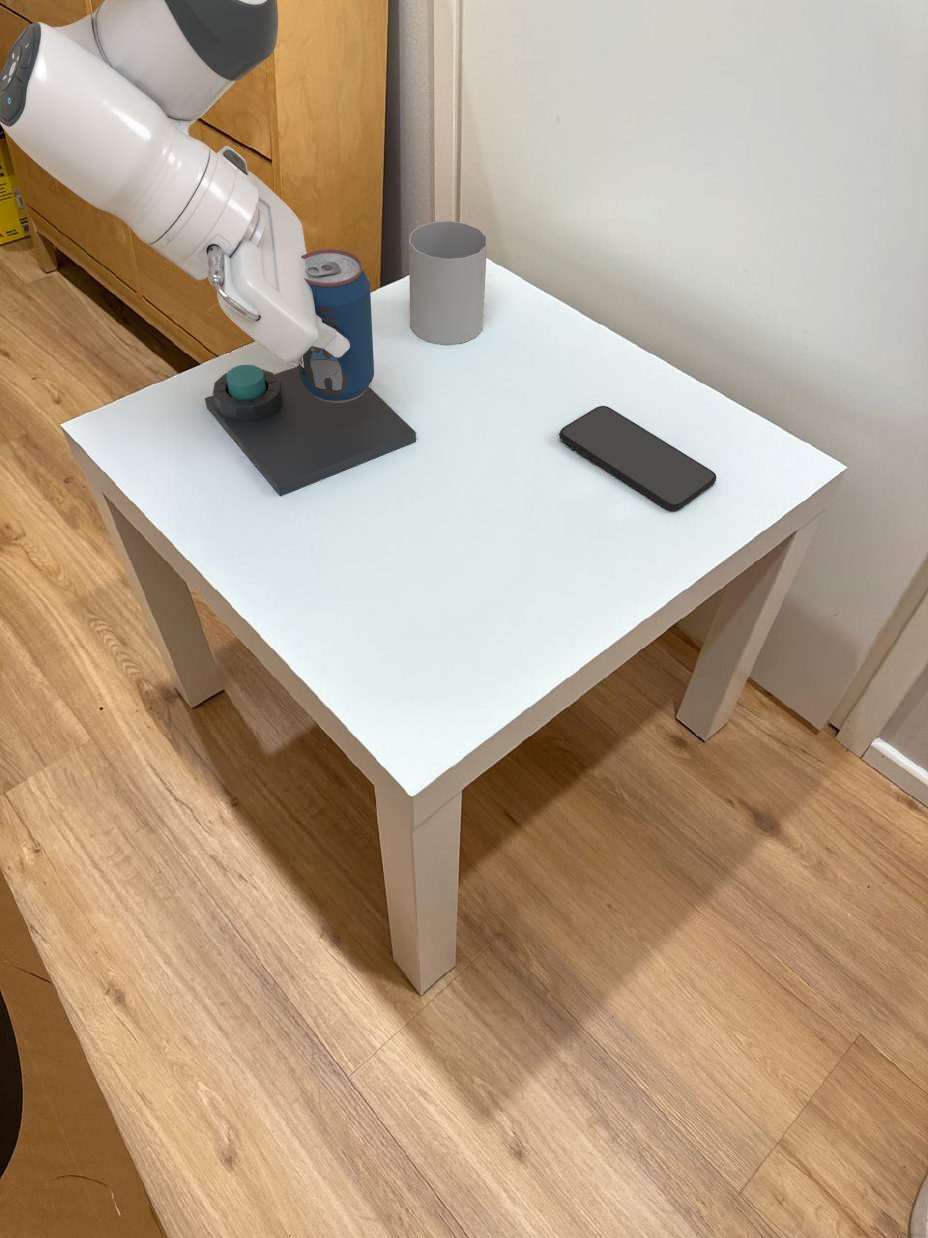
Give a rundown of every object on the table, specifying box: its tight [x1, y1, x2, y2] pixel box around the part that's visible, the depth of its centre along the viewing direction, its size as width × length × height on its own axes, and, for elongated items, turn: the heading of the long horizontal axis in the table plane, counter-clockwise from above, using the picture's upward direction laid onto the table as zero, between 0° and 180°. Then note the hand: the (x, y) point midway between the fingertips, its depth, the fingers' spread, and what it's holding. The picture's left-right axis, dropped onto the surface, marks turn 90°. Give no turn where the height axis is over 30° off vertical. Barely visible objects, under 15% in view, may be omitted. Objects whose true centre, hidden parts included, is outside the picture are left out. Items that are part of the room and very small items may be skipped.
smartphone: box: [558, 405, 717, 512], centre depth 89 cm, size 7×1×15 cm
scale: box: [204, 365, 417, 497], centre depth 90 cm, size 15×16×3 cm
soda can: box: [297, 248, 375, 403], centre depth 82 cm, size 7×7×12 cm
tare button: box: [226, 364, 266, 400], centre depth 90 cm, size 4×4×2 cm
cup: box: [408, 220, 488, 346], centre depth 100 cm, size 8×8×10 cm
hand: (339, 321), depth 81 cm, fingers closed on soda can, 7 cm apart
